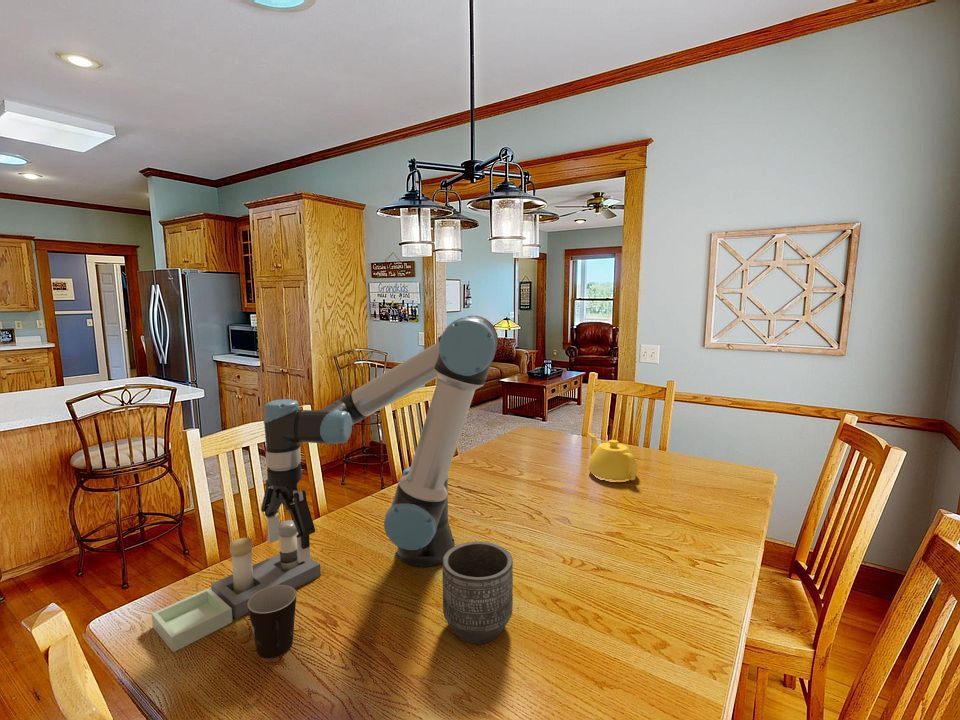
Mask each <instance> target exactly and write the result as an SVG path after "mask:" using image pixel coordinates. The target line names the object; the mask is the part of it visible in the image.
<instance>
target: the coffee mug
mask: <svg viewBox="0 0 960 720" xmlns="http://www.w3.org/2000/svg"><path fill="white" fill-rule="evenodd" d="M296 603H297V590H296V588H295V589H294V588H293V587H291V586H287V585H275V586H270V587H267V588H264V589H262V590H260V591H258V592H256V593H255V594H254V595H253V596H252V597H251V598H250V599H249V600H248V603H247V607H248V611H249V612H248V615H249V619H250V624H251V629H252V635H253V639H254V643H255V649H256V653H257V655H258V656H259V657H260V658H262V659H274V658H275V659H276V658H278V657H280V656H283V655H284V654H286V653H287V652H289V650H290V649H291V648H292V646H293V643H294V634H295V633H294V631H295V620H296V619H295V617H296V607H297V606H296V605H297V604H296Z"/></svg>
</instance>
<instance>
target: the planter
mask: <svg viewBox="0 0 960 720" xmlns="http://www.w3.org/2000/svg"><path fill="white" fill-rule="evenodd" d="M513 565H514V561H513V556H512V554H511V552H510V551H508V550H507V549H506V548H504V547H502V546H501V545H499V544H496V543H493V542H489V541H483V540H482V541H480V540H479V541H478V540H477V541H469V542H463V543H460V544H458V545H455V547H453V548H451V549H450V550H448V551H447V552H446V553H445V555H444V557H443V563H442V613H443V616H444V619H445V620H446V623H447V624H448V626H449V627H450V629H452V631H453V632H454V634H455V635H456V636H457V637H458V638H459V639H460V640H462V641H464V642H466V643H468V644H469V643H470V644H475V645H479V644H481V645H482V644H486V643H490V642H492V641H493V640H495V639H496V638H497V637H498V636H499V635H500V634H501V633H502V632H503V630H504V629H505V627H506V626H507V624H508V623H509V621H510V619H511V618H512V615H513V604H514V603H513V602H514V599H513V597H514V595H513V588H514V587H513V586H514V571H513V570H514V569H513V567H514V566H513Z"/></svg>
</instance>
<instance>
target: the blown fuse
mask: <svg viewBox="0 0 960 720" xmlns="http://www.w3.org/2000/svg"><path fill="white" fill-rule="evenodd" d="M278 535H279V540H278V541H279V554H280V562H281V568H280V569H281V570H282V571H284V572H287V571H289V570H291V569H293V568H295V567H297V566H299V563H298V556H297V537H296V535H298V531H297V529H296V527H295V524H294V522H293V519H288V520H283V521H281V522H279V524H278Z"/></svg>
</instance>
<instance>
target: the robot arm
mask: <svg viewBox="0 0 960 720" xmlns="http://www.w3.org/2000/svg"><path fill="white" fill-rule="evenodd" d="M498 343H499V336H498V332H497V330H496V328H495V326H494V325H493V324H492V323H491V322H490V320H488V319H487V318H485V317H482V316H480V315H467V316H464V317H460V318H458V319H456V320H453V321H452V322H451V323H449V325H448V326H447V327H446V328H445V329H444V331H443V332H442V334H441V335H440V336H438V337H437V339H436V342H435V343H434V344H432V345H431V346H429V347H426V349H424V350H422V351H419V352H418V353H416V354H415V355H413V356H411V357H409V358H408V359H406V360H405V361H403V362H401V363H400V364H398V365H396V366H394V367H391V369H389V370H387V371H385V372H383V373H382V374H380V375H379V376H377V377H375V378H372V379H371V380H369V381H367V382H366V383H365V384H362V385H361V386H359V387H357V388H356V389H354V390H353V391H351V392H349V393H348V394H345V395H343V396H341V397H340V398H337V399H336V400H335V401H333V402H332V403H330V404H328V405H326V406H325V407H323V408H320V409H317V410H316V409H301V408H300V406H299V402H298V401H297V400H296V399H289V398H288V399H287V398H286V399H283V398H282V399H275V400H272V401H271V400H270V401H268V402H267V403H266V404H265V405H264V409H263V424H264V435H265V436H264V438H265V462H266V467H267V469H266V474H267V475H266V476H267V477H266V478H267V479H266V480H265V490H264V495H263V500H262V503H261V506H260V507H261V508H260V511H261V512H262V513H264V516H265V517H266V527H267V543H268V544H272V543H275V542H277V541H279V535H278V524H279V523H280V515H279V512H280V511H279V509H280V507H281V506H282V505H283V506H284V508H285V510H286V511H288V512H289V514H290V517H291V520H293V522H294V524H295V527H296V529H297V531H298V532H297V535H296V537H297V556H298V562H299V563H301V562H303V561H305V560H307V559H309V558H311V549H310V548H311V547H310V545H311V544H310V535H312V534H314V533H316V527H315V525H314V520H313V518H312V514H311V511H310V507H309V503H308V500H307V493H306V490H304V489H303V490H301V491H299V489H298V484H299V482H300V481H301V480H302V478H303V476H302V475H303V474H302V473H303V471H302V464H301V462H302V457H301V451H302V448H301V443H307V444H309V443H311V444H313V443H314V444H327V445H334V444H344V443H347V442H348V441H349V439H350V436H352V435H351V434H352V432H353V431H352V430H353V425H355V424H357V423H359V422H360V421H362V420H364V419H366V418H368V417H369V416H371V415H373V414H375V413H376V412H378V411H379V410H382V409H383V408H386V407H387V406H389V405H391V404H392V403H394V402H396V401H397V400H399V399H401V398H403V397H405V396H407V395H408V394H410V393H412V392H414V391H416V390H417V389H419V388H422V387H423V386H425V385H426V384H428V383H430V382H432V381H433V380H435V379H437V382H436V385H435V388H434V391H433V395H432V397H431V400H430V404H429V407H428V410H427V414H426V416H425V420H424V423H423V427H422V429H421V433H420V436H419V437H418V438H419V439H418V442H417V445H416V449H415V451H414V455H413V457H412V461H411V464H410V466H409V467H406V468H405V469H403V471H402V476H401V477H400V478H399V480H398V483H397V487H396V490H395V493H394V496H393V500H392V502H391V505H390V507H389V508H388V509H387V512H386V513H385V515H384V519H383V529H384V532H385V534H386V536H387V537H388V539H389V541H390V543H392V544H394V545H395V546H396V547H397V556H398V558H399V560H400V561H401V562H403V563H405V564H406V565H409V566H412V567H423V568H424V567H427V568H428V567H433V566H434V567H435V566H437V565H441V564H443V557H444V555H445V553H446V552H447V551H448V550H450V549H451V548H453V547H455V546H456V541H455V539H454V535H453V534H452V530H451V527H450V524H449V494H448V492H449V486H448V485H449V484H448V483H449V478H448V476H449V475H448V473H449V471H450V468H451V465H452V461H453V458H454V456H455V453H456V450H457V447H458V444H459V440H460V437H461V435H462V431H463V429H464V425H465V422H466V418H467V416H468V413H469V410H470V407H471V404H472V400H473V398H474V395H475V391H476V390H478V389H480V388H482V387H484V385H485V383H486V381H487V377H488V374H489V372H490V371H489V370H490V368H491V365H492V362H493V360H494V359H495V355H496V352H497V348H498Z"/></svg>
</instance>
